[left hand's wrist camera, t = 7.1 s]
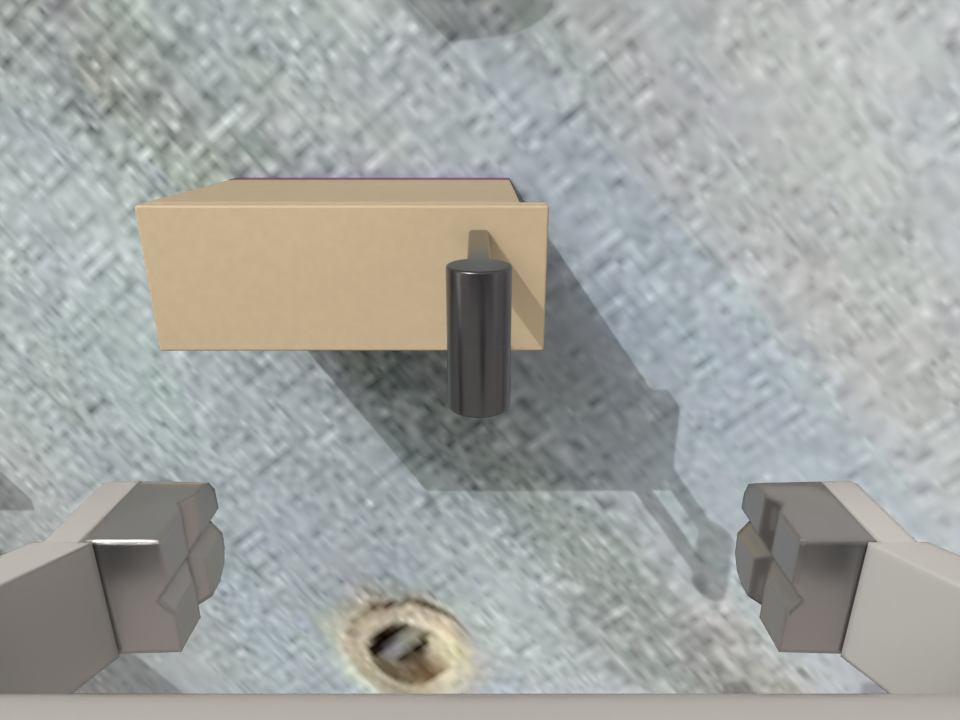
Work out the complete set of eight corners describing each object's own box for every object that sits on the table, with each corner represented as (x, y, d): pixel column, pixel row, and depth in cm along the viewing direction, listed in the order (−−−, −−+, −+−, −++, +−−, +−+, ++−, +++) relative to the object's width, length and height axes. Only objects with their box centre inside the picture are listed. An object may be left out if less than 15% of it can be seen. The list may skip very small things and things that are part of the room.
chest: (509, 178, 33) (520, 201, 25) (507, 284, 35) (517, 342, 26) (235, 177, 33) (147, 201, 24) (249, 284, 35) (171, 342, 26)
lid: (546, 202, 24) (579, 244, 17) (541, 342, 26) (568, 441, 18) (147, 202, 24) (-13, 244, 16) (170, 342, 26) (38, 441, 18)
